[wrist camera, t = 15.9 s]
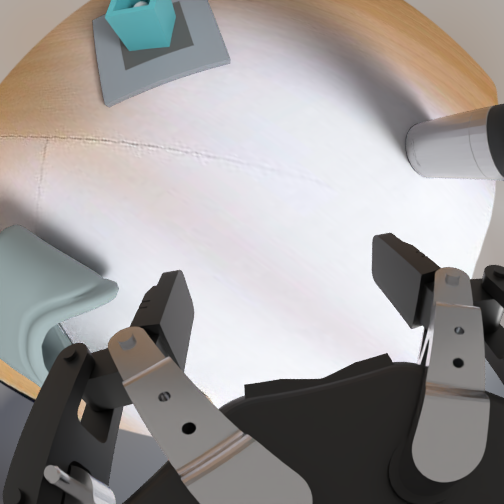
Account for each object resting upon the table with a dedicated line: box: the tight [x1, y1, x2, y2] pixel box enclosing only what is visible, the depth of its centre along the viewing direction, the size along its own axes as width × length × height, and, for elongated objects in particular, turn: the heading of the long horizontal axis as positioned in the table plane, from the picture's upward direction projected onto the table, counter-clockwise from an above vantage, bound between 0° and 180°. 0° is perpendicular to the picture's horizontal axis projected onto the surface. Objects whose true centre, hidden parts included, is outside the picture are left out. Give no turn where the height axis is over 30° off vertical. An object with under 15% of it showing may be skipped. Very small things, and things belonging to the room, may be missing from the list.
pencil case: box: [0, 225, 119, 388], centre depth 31 cm, size 22×19×13 cm
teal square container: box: [105, 0, 176, 51], centre depth 23 cm, size 6×6×10 cm
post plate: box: [93, 0, 230, 107], centre depth 25 cm, size 18×18×10 cm
